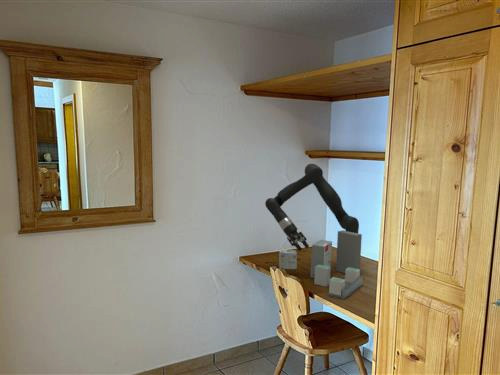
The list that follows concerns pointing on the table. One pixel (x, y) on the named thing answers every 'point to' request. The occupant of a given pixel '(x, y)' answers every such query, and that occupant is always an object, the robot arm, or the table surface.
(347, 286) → the rail
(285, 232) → the robot arm
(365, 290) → the table surface
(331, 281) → the mounted module
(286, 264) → the light bulb box
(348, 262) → the tall upright rectangular panel
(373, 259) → the table surface
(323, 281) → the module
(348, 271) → the mounted module
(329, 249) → the hard drive box
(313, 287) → the table surface
